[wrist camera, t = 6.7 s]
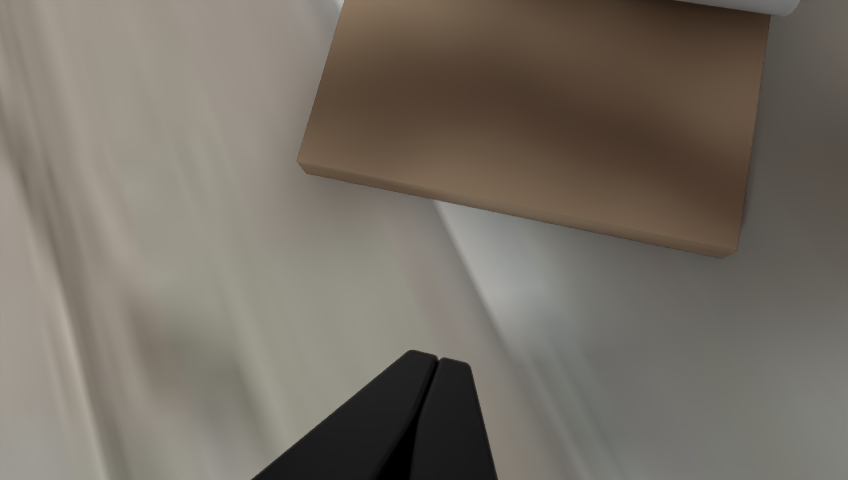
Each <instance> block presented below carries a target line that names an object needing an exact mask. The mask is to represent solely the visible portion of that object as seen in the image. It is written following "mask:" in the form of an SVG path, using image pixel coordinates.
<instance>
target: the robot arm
mask: <svg viewBox="0 0 848 480" xmlns="http://www.w3.org/2000/svg"><path fill="white" fill-rule="evenodd" d="M251 480H498V478H497V474H496V470H495V465H494V461H493V457H492V453H491V449H490V445H489V441H488V436H487V432H486V428H485V424H484V420H483V416H482V412H481V407H480V403H479V399H478V395H477V391H476V387H475V383H474V378H473V374H472V370H471V367H470V365H469V364H468V363H466V362H462V361H458V360H454V359H450V358H445V357H443V358H441V359H440V360H438V357H437V356H436V355H433V354H429V353H425V352H421V351H417V350H409V351H407V352H406V353H405V354H404V355H402V356H401V357H400V358H399V359H398V360H396V361H395V362H394V363H393V364H391V365H390V366H389V367H388V368H387V369H385V370H384V371H383V372H382V373H381V374H379V375H378V376H377V377H376V378H374V379H373V380H372V381H371V382H370V383H368V384H367V385H366V386H365V387H363V388H362V389H361V390H360V391H359V392H357V393H356V394H355V395H354V396H352V397H351V398H350V399H349V400H348V401H346V402H345V403H344V404H343V405H342V406H340V407H339V408H338V409H337V410H335V411H334V412H333V413H332V414H331V415H329V416H328V417H327V418H326V419H324V420H323V421H322V422H321V423H320V424H318V425H317V426H316V427H315V428H314V429H312V430H311V431H310V432H309V433H307V434H306V435H305V436H304V437H303V438H301V439H300V440H299V441H298V442H296V443H295V444H294V445H293V446H292V447H290V448H289V449H288V450H287V451H285V452H284V453H283V454H282V455H281V456H279V457H278V458H277V459H276V460H275V461H273V462H272V463H271V464H270V465H268V466H267V467H266V468H265V469H264V470H262V471H261V472H260V473H259V474H257V475H256V476H255V477H254V478H253V479H251Z"/></svg>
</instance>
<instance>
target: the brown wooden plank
mask: <svg viewBox="0 0 848 480" xmlns="http://www.w3.org/2000/svg"><path fill="white" fill-rule="evenodd" d="M769 22H770V14H763V13H756V12H750V11H743V10H736V9H730V8H723V7H716V6H710V5H703V4H696V3H690V2H683V1H676V0H344V3H343V7H342V10H341V13H340V17H339V20H338V24H337V27H336V30H335V34H334V37H333V40H332V44H331V47H330V50H329V54H328V57H327V60H326V64H325V67H324V71H323V74H322V77H321V81H320V84H319V87H318V91H317V94H316V97H315V101H314V104H313V107H312V111H311V114H310V117H309V121H308V124H307V128H306V131H305V134H304V138H303V141H302V144H301V148H300V151H299V154H298V158H297V162H298V164H299V165H300V166H301V167H302V168H303V170H304V171H305V172H306V173H308V174H313V175H318V176H323V177H327V178H332V179H337V180H342V181H347V182H352V183H357V184H362V185H366V186H371V187H376V188H381V189H386V190H391V191H396V192H401V193H405V194H410V195H415V196H420V197H425V198H430V199H435V200H440V201H445V202H449V203H454V204H459V205H464V206H469V207H474V208H479V209H484V210H488V211H493V212H498V213H503V214H508V215H513V216H518V217H523V218H528V219H532V220H537V221H542V222H547V223H552V224H557V225H562V226H567V227H571V228H576V229H581V230H586V231H591V232H596V233H601V234H606V235H611V236H615V237H620V238H625V239H630V240H635V241H640V242H645V243H650V244H654V245H659V246H664V247H669V248H674V249H679V250H684V251H689V252H694V253H698V254H703V255H708V256H713V257H718V258H725V257H726V256H728V255H730V254H731V253H733V252H735V251H737V247H738V240H739V233H740V226H741V219H742V212H743V205H744V198H745V191H746V184H747V177H748V170H749V163H750V156H751V149H752V142H753V135H754V128H755V121H756V114H757V106H758V99H759V92H760V85H761V78H762V71H763V64H764V57H765V50H766V43H767V36H768V29H769Z"/></svg>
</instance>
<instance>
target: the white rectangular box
mask: <svg viewBox="0 0 848 480" xmlns="http://www.w3.org/2000/svg"><path fill="white" fill-rule="evenodd" d="M676 1H683V2H690V3H696V4H703V5H710V6H716V7H723V8H730V9H736V10H743V11H750V12H756V13H763V14H770V15H777V16H783V17H787V16H789V15H790V14H791V13H792V12H793V11H794V10H795V9H796V7H797V6H798V4H799V3H800V1H801V0H676Z"/></svg>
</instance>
